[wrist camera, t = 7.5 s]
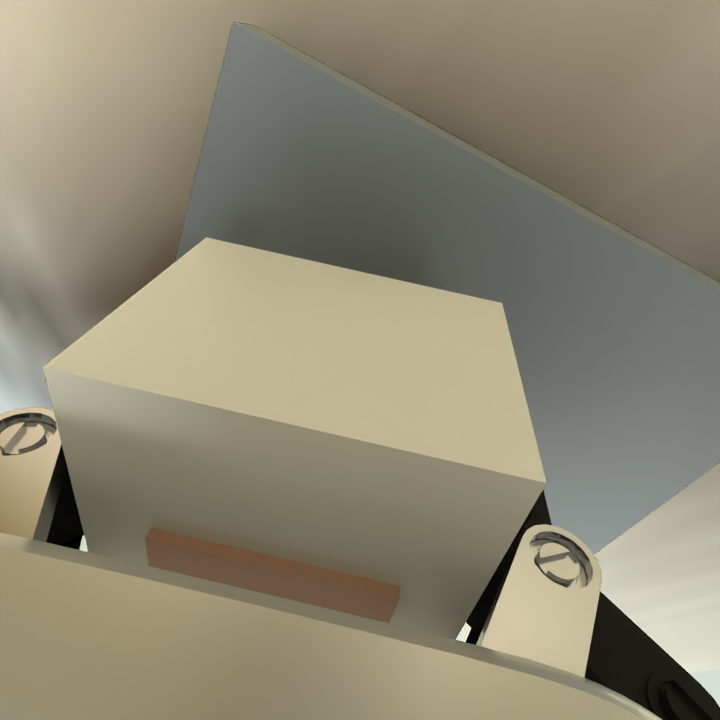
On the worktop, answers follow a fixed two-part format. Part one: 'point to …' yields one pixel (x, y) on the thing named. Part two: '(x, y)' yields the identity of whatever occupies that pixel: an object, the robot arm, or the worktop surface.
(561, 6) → the worktop surface
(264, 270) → the white striped cube
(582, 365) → the base plate
